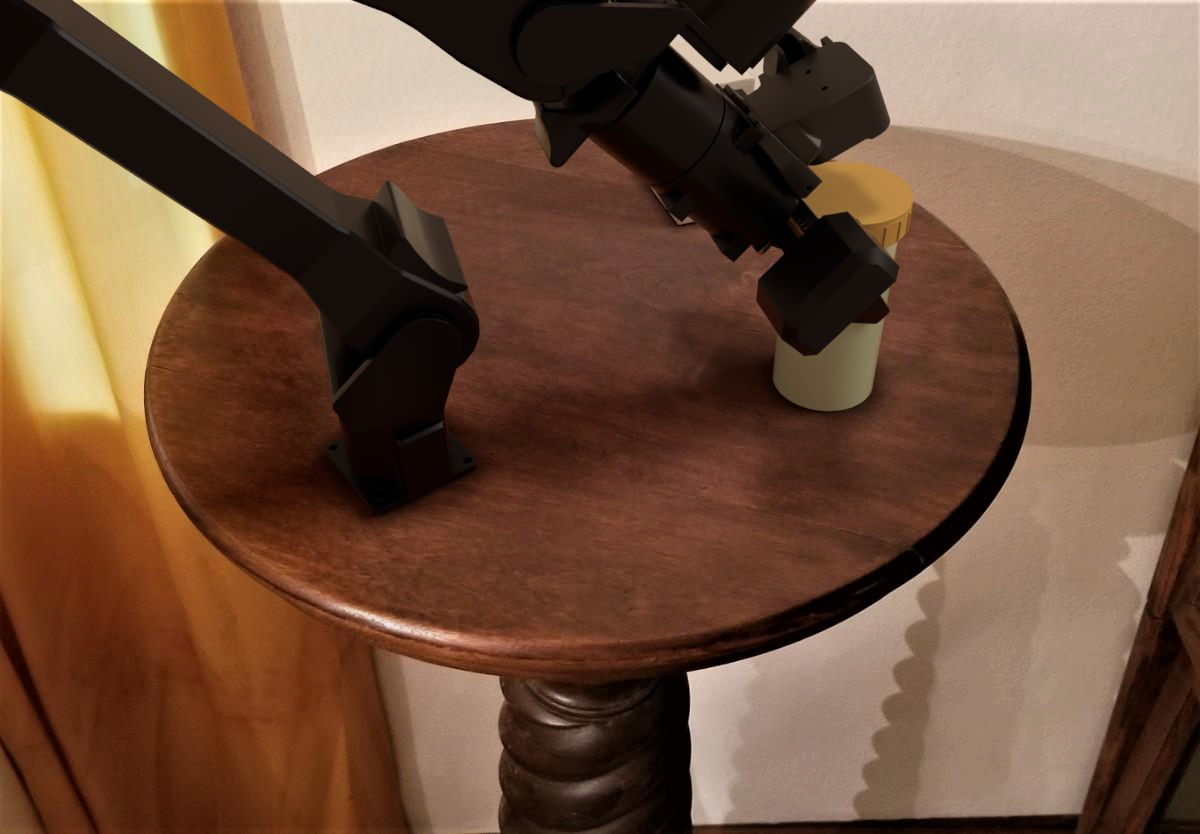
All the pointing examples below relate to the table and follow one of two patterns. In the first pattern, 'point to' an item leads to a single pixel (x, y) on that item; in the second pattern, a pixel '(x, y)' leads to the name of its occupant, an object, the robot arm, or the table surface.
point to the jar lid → (863, 198)
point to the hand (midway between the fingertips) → (857, 285)
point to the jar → (832, 367)
